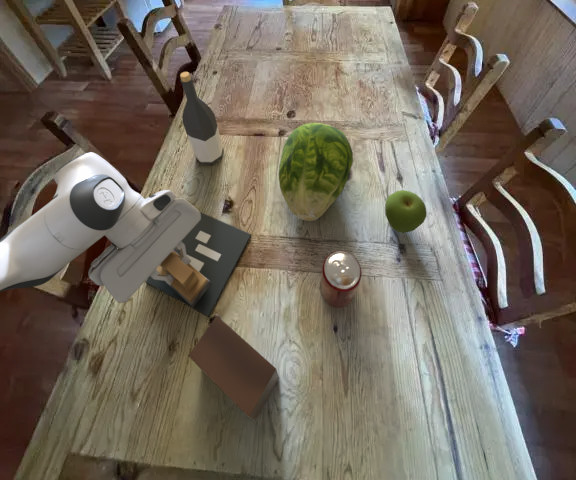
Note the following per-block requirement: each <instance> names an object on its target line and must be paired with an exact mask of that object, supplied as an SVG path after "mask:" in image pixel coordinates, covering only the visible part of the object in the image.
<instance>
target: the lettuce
mask: <svg viewBox="0 0 576 480" xmlns="http://www.w3.org/2000/svg"><path fill="white" fill-rule="evenodd" d="M280 156H281V157H280V160H279V166H278V182H279V187H280V191H281V195H282V196H283V199H284V200H285V203H286V204H287V207H288V209H289V210H290V212H291V213H292V214H293V215H294V216H295V217H296V218H297V219H299V220H302V221H307V222H309V221H311V222H312V221H316V220H318V219H319V218H321V217H322V216H323V215H324V214H325V213H326V212H327V210H328V209H329V208H330V206H331V205H332V204H333V203H334V202H335V201H336V200H337V199H338V198H339V196H340V195H341V194H342V192H343V191H344V188H345V186H346V184H347V181H348V179H349V176H350V172H351V169H352V166H353V163H354V154H353V149H352V146H351V143H350V142H349V139H348V138H347V136H346V134H345V132H344V131H342V130H341V129H338V128H337V127H335V126H332V125H330V124H326V123H322V122H308V123H304V124H302V125H299V126H297V127H296V128H294V129H293V130H292V131H291V133H290V134H289V135H288V137H287V139H286V140H285V142H284V145H283V147H282V151H281V155H280Z"/></svg>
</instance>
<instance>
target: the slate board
mask: <svg viewBox="0 0 576 480" xmlns="http://www.w3.org/2000/svg"><path fill="white" fill-rule="evenodd" d="M198 211H199V212H200V213H201V220H200V221H199V222H198V223H197V224H196V225H195V226H194V228H193V229H192V230H191V231H190V232H189V233H188V234H187V235H186V236H185V238H184V239H183V240H182V242H183V243H184V244H185V249H186V255H187V256H188V258H189V259H190V260H191V262H190V263H189V264H190V265H192V266H193V267H194V268H195V269H196V270H198V271H199V272H200V273H201V274H202V275H203V276H205V277H206V278H207V279H208V280H209V281H210V282H211V285H210V286H209V288H208V289H207V290H206V291H205V293H204V294H203V295H202V297H201V298H200V299H199V300H198V302H197V303H196V304H195V306H194V307H192V306H191V305H190V304H189V303H188V302H187V301H186V300H185V299H184V298H182V297H181V296H180V295H179V294H178V293H177V292H176V291H175V290H174V289H173V288H172V287H170V286H169V285H168V284H167V283H166V282H165V281H163V280H155V279H153V278H152V277H151V276H149V277H148V279H147V280H146V281H145V283H146V284H148V285H149V286H151V287H153V288H155V289H157V290H159V291H160V292H162V293H164V294H165V295H168V296H169V297H171V298H173V299H175V300H176V301H178V302H180V303H182V304H184V305H186V306H188V308H189V307H190V309H193V310H195V311H197V312H198V313H201V314H202V315H203V316H206V317H207V318H210V316H211V315H212V313H213V312H214V309H215V307H216V305H217V303H218V301H219V299H220V297H221V295H222V293H223V291H224V289H225V288H226V286H227V284H228V282H229V280H230V278H231V276H232V274H233V272H234V270H235V269H236V266H237V265H238V263H239V261H240V258H241V257H242V254H243V253H244V251H245V249H246V247H247V245H248V243H249V241H250V239H251V238H252V233H249V232H248V231H244V230H242V229H241V228H238V227H236V226H234V225H231V224H229V223H226V222H225V221H222V220H220V219H217V218H216V217H213V216H212V215H208V214H206V213H204V212H201V211H200V210H198ZM174 251H175V252H176V253H178V254H179V255H180V250H178V249H176V248H175V249H174ZM180 256H181V255H180Z"/></svg>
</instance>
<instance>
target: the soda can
mask: <svg viewBox="0 0 576 480" xmlns="http://www.w3.org/2000/svg"><path fill="white" fill-rule="evenodd" d="M321 268H322V269H321V276H320V277H321V278H320V285H319V290H320V295H321V297H322V299H323V301H325V303H326V304H327V305H328V306H330V307H331V308H334V309H345V308H347V307H348V306H350V305H351V304H352V302H353V301H354V299H355V297H356V294H357V291H358V288H359V286H360V283H361V280H362V274H363V271H362V266H361V264H360V261H359V260H358V259H357V257H356V256H355V255H354V254H353V253H350V252H349V251H346V250H343V249H342V250H339V249H338V250H334V251H332V252H330V253H329V254H327V255H326V257H325V258H324V260H323V263H322V267H321Z"/></svg>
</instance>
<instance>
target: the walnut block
mask: <svg viewBox="0 0 576 480" xmlns="http://www.w3.org/2000/svg"><path fill="white" fill-rule="evenodd" d="M187 356H188V358H189V359H190V360H191V361H193V362H194V363H195V365H196V366H197V367H198V368H199V369H200V370H202V372H203V373H204V374H205V375H206V376H207V377H208V378H209V379H210V380H211V381H212V382H213V383H214V384H215V385H216V386H217V388H219V389H220V390H221V391H222V392H223V393H224V394H225V395H226V396H227V397H228V398H229V399H230V400H231V401H232V402H233V403H234V404H235V405H236V406H237V407H238V409H240V410H241V411H242V412H243V413H244V414H245V416H247V417H248V418H249V419H252V420H253V421H256V422H257V420H258V419H259V416H260V414H261V413H262V411H263V409H264V407H265V405H266V403H268V400H269V398H270V396H271V395H272V393H273V391H274V389H275V387H276V386H277V384H278V382H279V380H280V375H279V373H278V369H277V368H276V367H275V365H273V364H272V363H270V361H268V359H266V358H265V357H264V356H263V355H262V354H261V353H260V352H258V351H257V350H256V349H255V348H254V347H253V346H251V345H250V343H248V341H246V340H245V339H244V338H243V337H242V336H240V334H238V333H237V332H236V331H235V330H234V329H233V328H232V327H231V326H229V325H228V324H227V323H226V322H225V321H224V320H223V319H221V318H220V317H219V316H218V315H216V316H215V318H214V319H213V320H212V322H211V323H210V325H209V326H208V327H207V328H206V330H205V331H204V333H203V334H202V336H201V337H200V338H199V339H198V341H197V342H196V344H195V345H194V347H193V348H192V349H191V351H190V352H189V354H188V355H187Z"/></svg>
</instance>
